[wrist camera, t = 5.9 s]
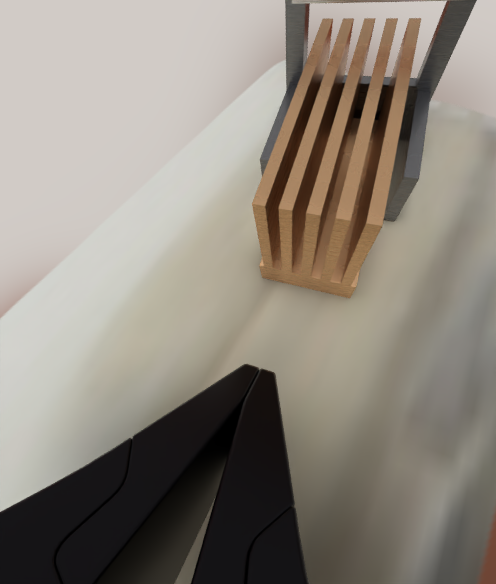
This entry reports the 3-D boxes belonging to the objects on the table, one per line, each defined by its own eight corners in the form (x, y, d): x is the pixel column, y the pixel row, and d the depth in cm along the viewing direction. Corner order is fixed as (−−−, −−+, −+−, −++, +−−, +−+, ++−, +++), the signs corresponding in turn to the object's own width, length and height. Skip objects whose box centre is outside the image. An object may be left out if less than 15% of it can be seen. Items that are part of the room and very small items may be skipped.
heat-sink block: (349, 298, 18) (390, 227, 11) (262, 278, 19) (245, 202, 12) (382, 144, 22) (427, 18, 15) (309, 136, 24) (317, 18, 17)
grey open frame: (397, 221, 19) (500, 48, 10) (262, 200, 22) (241, 44, 12) (411, 132, 22) (502, -69, 13) (290, 122, 25) (291, -53, 15)
